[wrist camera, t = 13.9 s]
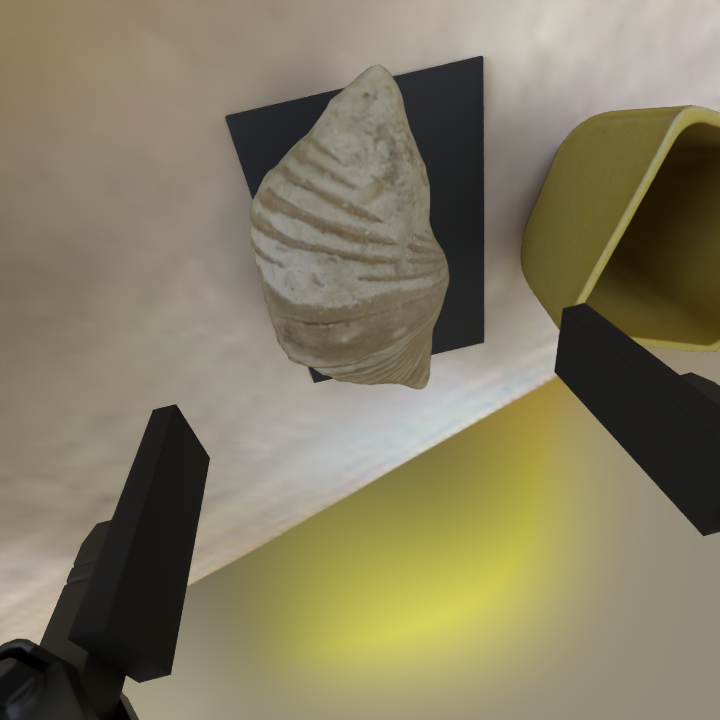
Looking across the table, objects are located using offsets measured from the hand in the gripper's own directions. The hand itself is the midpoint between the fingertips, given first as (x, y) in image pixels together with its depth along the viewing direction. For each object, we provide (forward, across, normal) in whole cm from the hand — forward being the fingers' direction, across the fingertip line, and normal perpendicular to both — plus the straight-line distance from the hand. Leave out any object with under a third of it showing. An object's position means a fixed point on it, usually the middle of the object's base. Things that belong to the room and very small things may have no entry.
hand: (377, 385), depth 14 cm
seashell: (+11, 0, 0) cm, 11 cm away
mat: (+12, +2, 0) cm, 12 cm away
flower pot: (+12, +14, 0) cm, 18 cm away
